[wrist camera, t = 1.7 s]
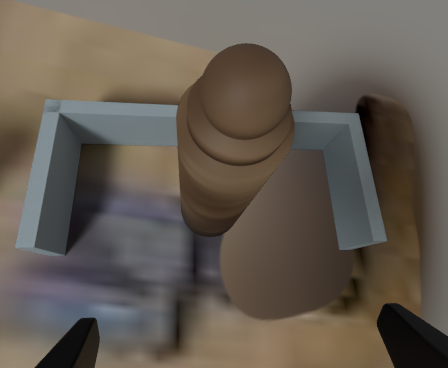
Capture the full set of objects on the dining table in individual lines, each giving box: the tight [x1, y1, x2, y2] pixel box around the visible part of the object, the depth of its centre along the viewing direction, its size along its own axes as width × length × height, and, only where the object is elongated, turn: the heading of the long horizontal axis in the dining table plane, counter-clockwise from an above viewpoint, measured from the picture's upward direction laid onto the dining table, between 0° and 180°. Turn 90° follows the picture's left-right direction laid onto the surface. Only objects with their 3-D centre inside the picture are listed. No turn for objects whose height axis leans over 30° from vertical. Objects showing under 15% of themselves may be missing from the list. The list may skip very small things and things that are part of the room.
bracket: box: [15, 99, 387, 256], centre depth 21 cm, size 10×23×4 cm, turn 92°
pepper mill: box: [176, 43, 295, 237], centre depth 16 cm, size 5×5×16 cm
